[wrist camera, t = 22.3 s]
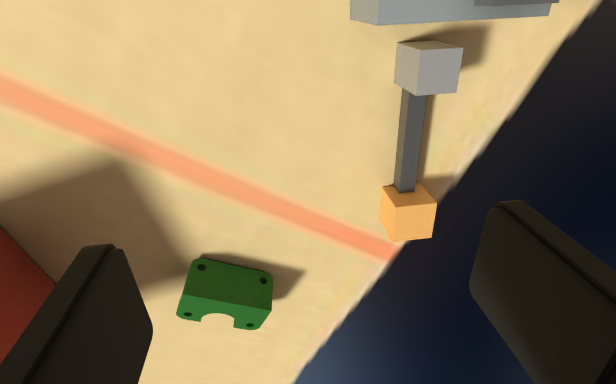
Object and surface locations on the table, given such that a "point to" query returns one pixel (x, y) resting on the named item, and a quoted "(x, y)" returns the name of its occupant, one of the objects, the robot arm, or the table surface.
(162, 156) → the table surface
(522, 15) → the housing
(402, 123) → the cube-ended rod
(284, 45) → the table surface
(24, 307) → the plant pot
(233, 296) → the clamp
